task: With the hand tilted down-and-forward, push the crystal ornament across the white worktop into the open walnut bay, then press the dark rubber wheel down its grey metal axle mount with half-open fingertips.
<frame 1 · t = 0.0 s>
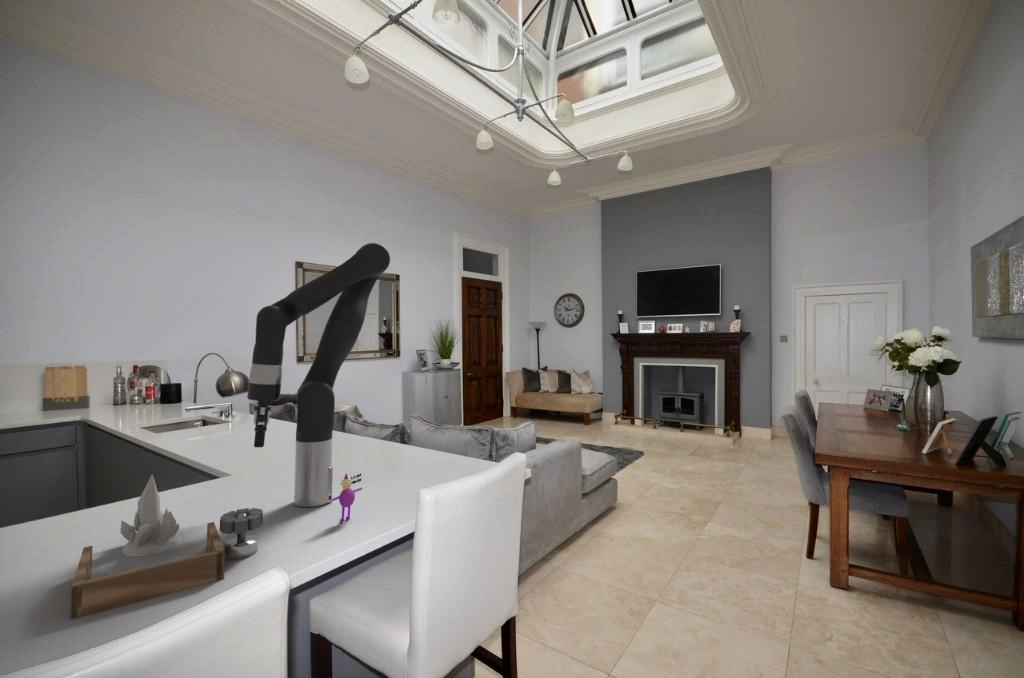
hand: (258, 443, 118), 17 cm above the counter, tool pointing down, fingers open, 8 cm apart
bay: (153, 575, 84), on the counter
wheel: (241, 520, 94), point 7 cm above the counter, slide at 0.0 cm
crystal: (153, 547, 96), on the counter
wizard figurine: (346, 521, 111), on the counter
axle mount: (241, 552, 94), on the counter
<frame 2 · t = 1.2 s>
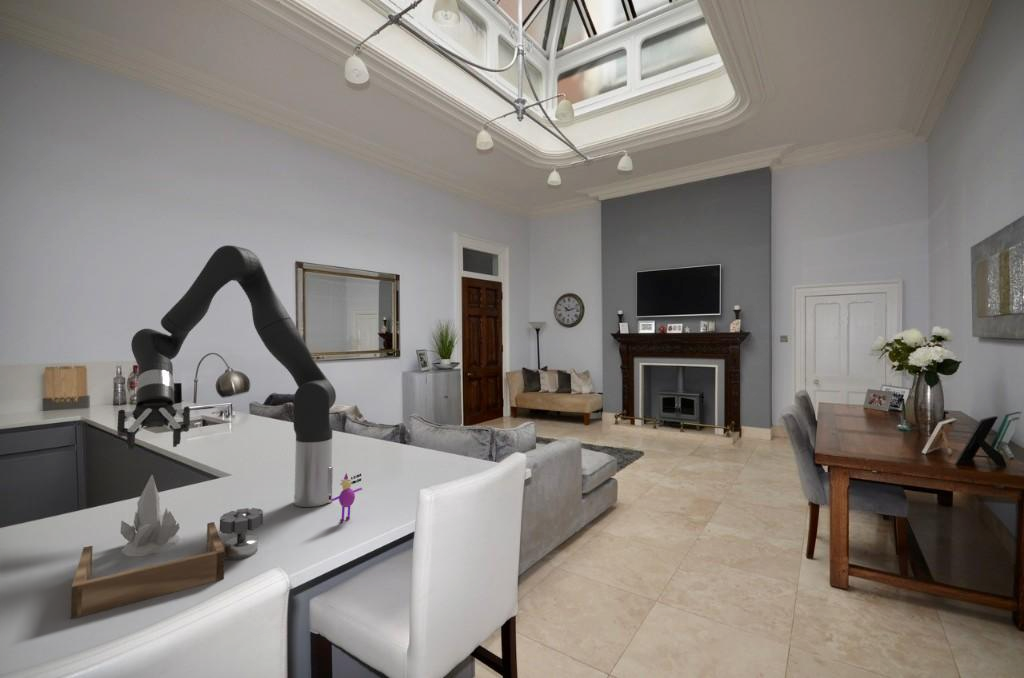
hand: (154, 446, 105), 19 cm above the counter, tool tilted 45°, fingers open, 7 cm apart
nothing on the counter moved.
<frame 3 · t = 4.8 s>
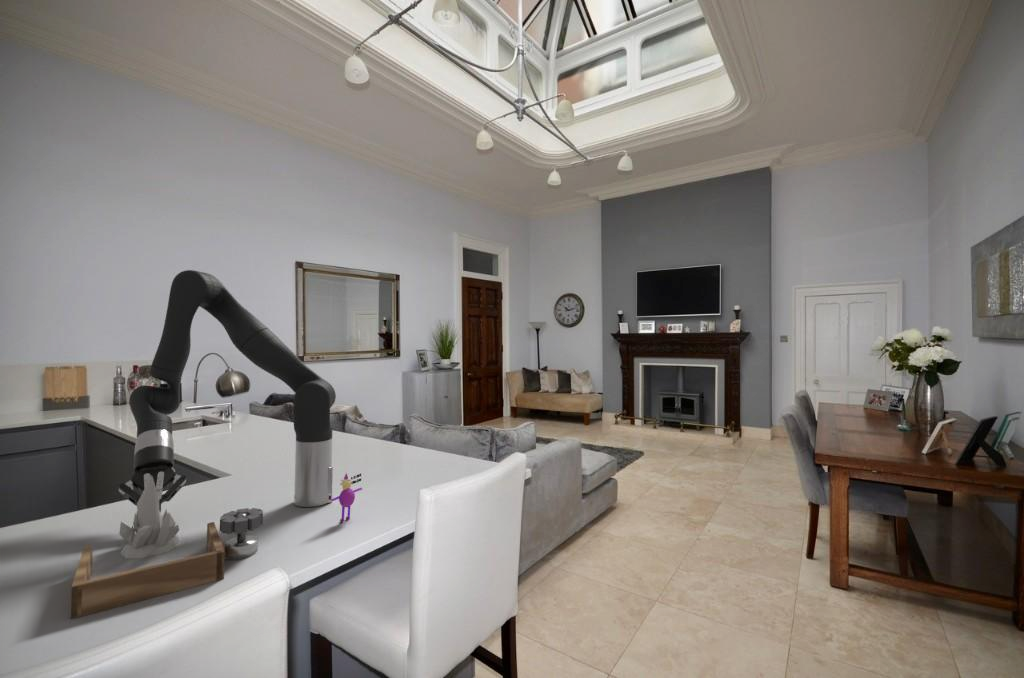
hand: (152, 519, 101), 4 cm above the counter, tool tilted 45°, fingers closed
crystal: (152, 548, 95), on the counter
everything else where it was.
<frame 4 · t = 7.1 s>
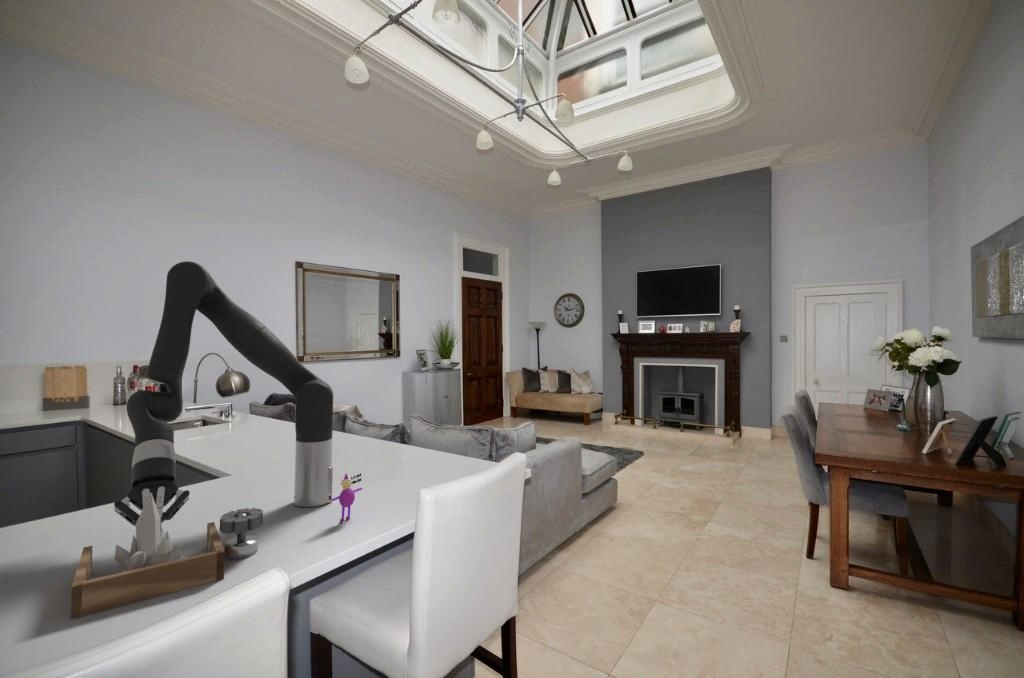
hand: (152, 540, 90), 4 cm above the counter, tool tilted 45°, fingers closed
crystal: (150, 575, 85), on the counter, touching gripper
everything else where it was.
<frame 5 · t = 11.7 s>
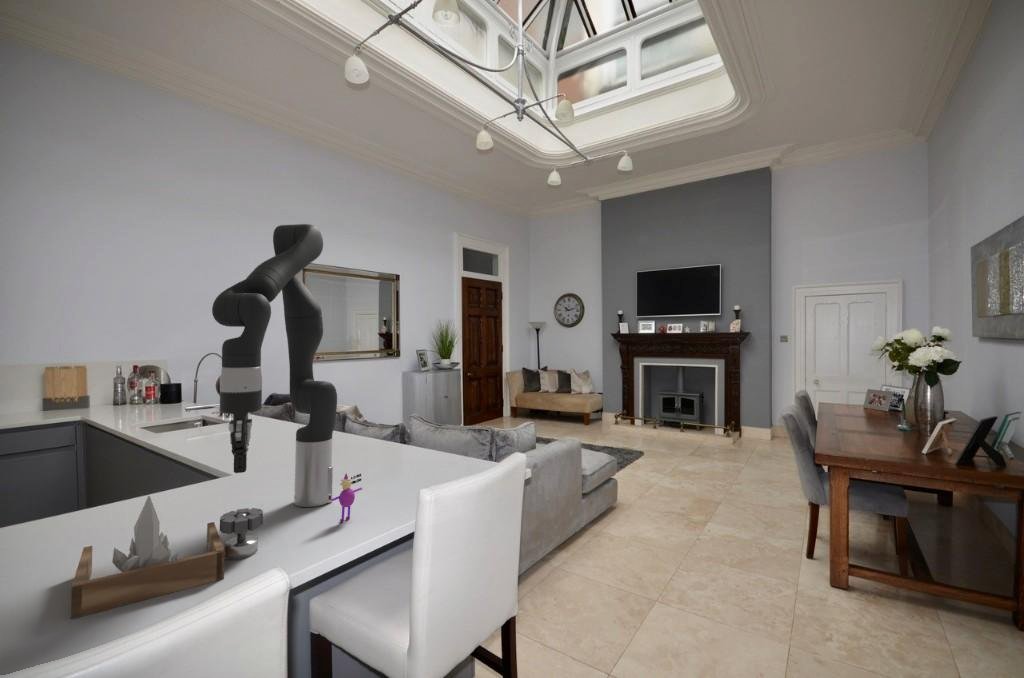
hand: (240, 471, 94), 17 cm above the counter, tool pointing down, fingers closed
crystal: (148, 580, 83), on the counter
everything else where it was.
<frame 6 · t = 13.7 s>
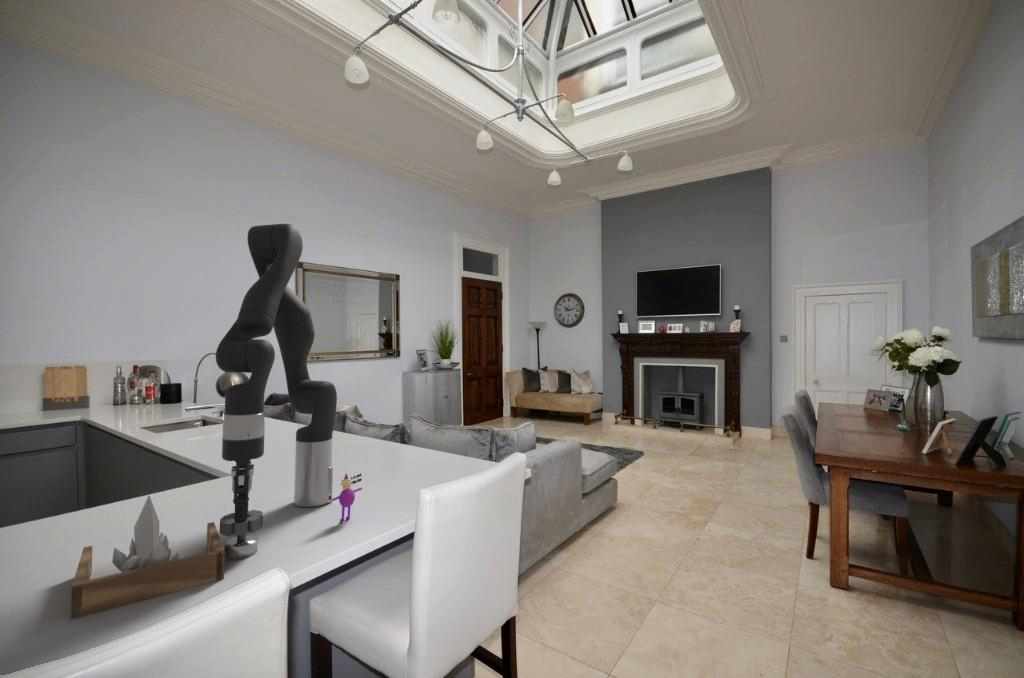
hand: (241, 516, 94), 8 cm above the counter, tool pointing down, fingers open, 5 cm apart
wheel: (241, 522, 94), point 6 cm above the counter, slide at 0.4 cm, touching gripper
everything else where it was.
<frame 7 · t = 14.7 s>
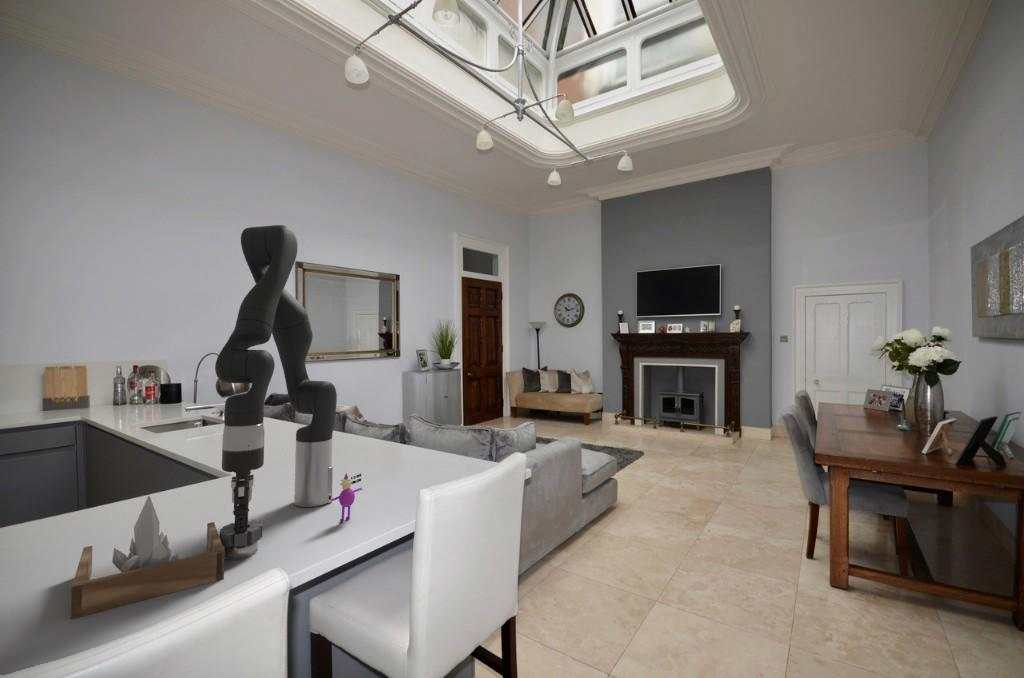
hand: (241, 526, 94), 5 cm above the counter, tool pointing down, fingers closed on wheel, 5 cm apart
wheel: (241, 533, 94), point 4 cm above the counter, slide at 2.6 cm, touching gripper
everything else where it was.
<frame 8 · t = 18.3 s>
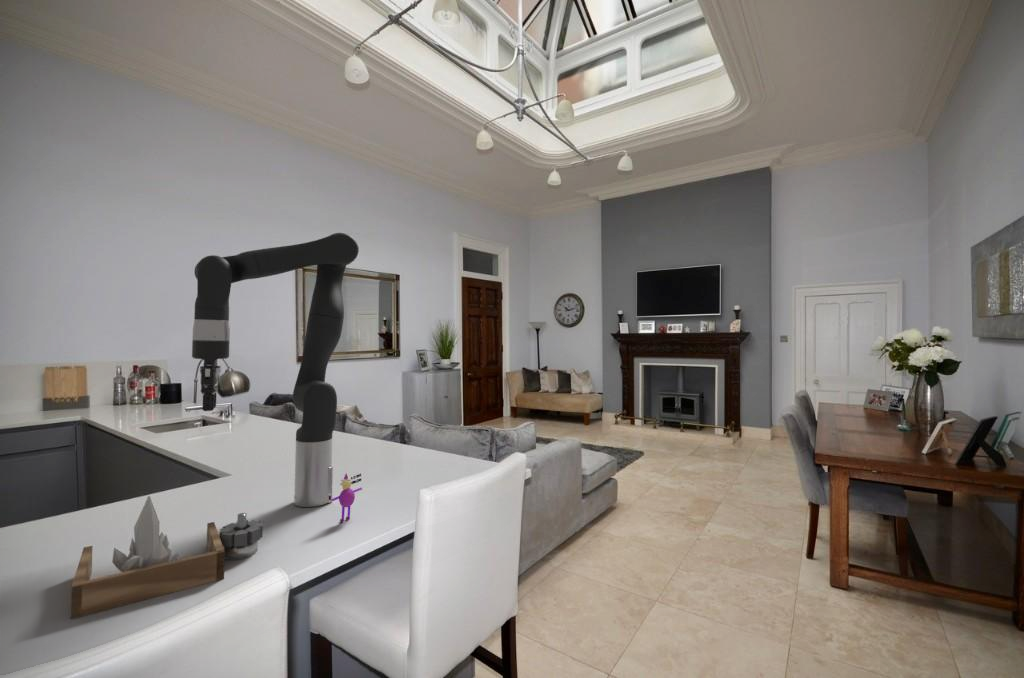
hand: (209, 408, 109), 27 cm above the counter, tool pointing down, fingers open, 5 cm apart
wheel: (241, 533, 94), point 4 cm above the counter, slide at 2.6 cm
everything else where it was.
at the end: crystal inside the target area on the bay (1.2 cm from its centre), point 0.0 cm above the bay's base; crystal tilted 0°; wheel slide at 2.6 cm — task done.
